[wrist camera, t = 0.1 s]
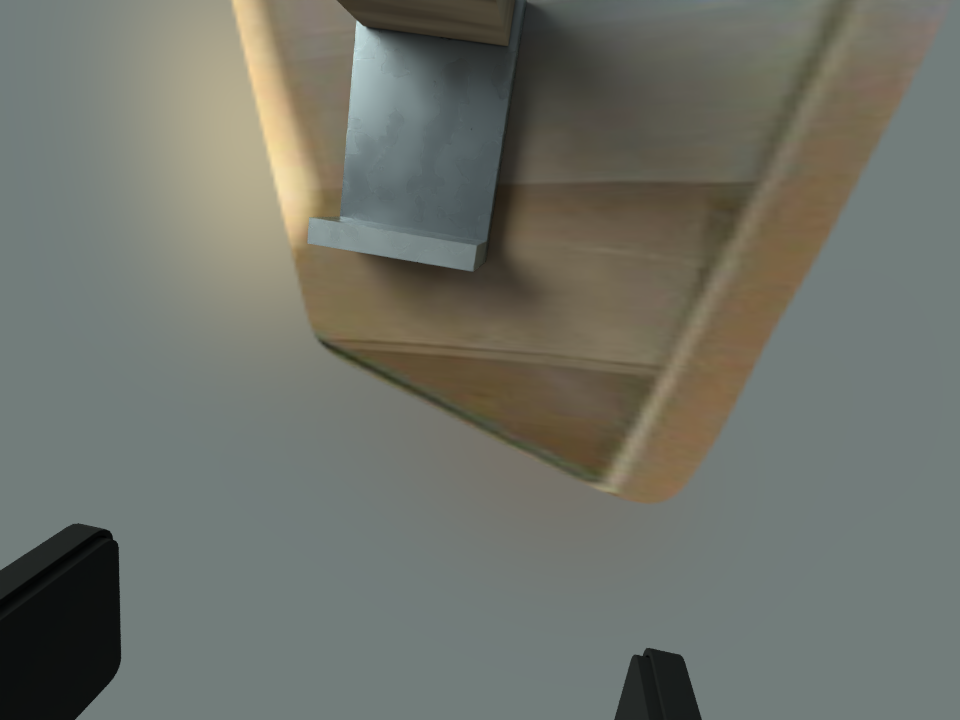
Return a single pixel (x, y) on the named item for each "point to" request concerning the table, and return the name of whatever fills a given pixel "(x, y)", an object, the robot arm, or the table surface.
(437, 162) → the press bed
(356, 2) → the brown wooden block
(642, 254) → the table surface
